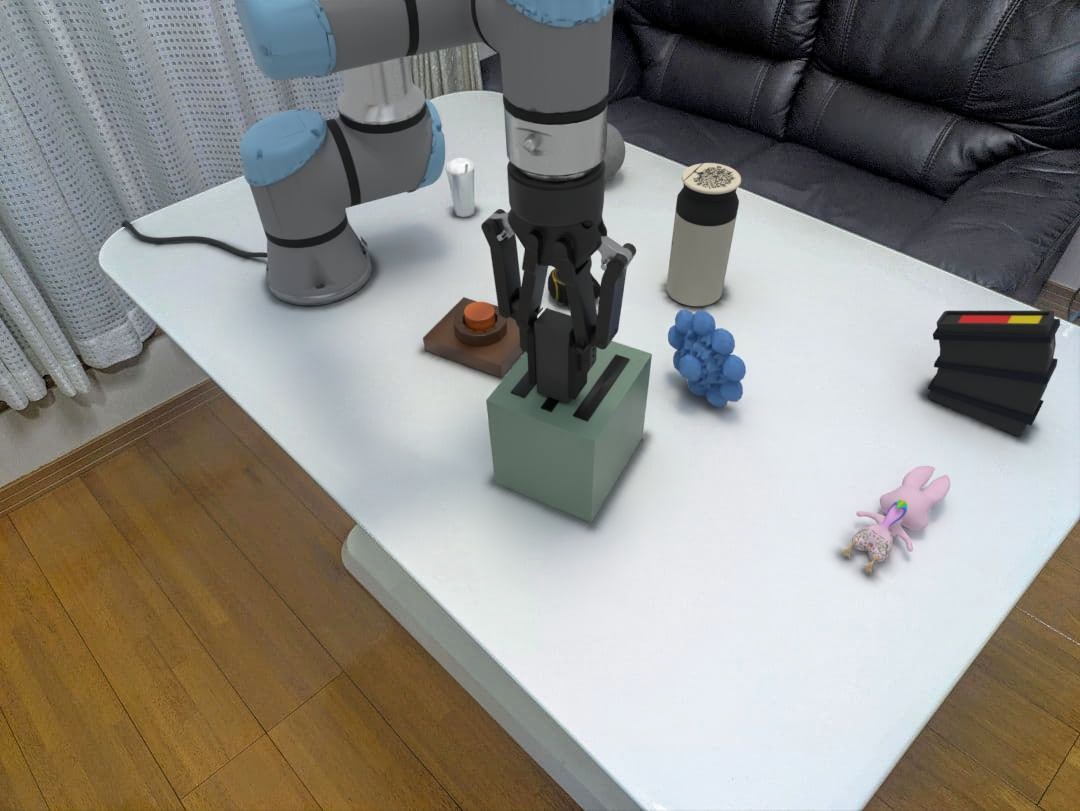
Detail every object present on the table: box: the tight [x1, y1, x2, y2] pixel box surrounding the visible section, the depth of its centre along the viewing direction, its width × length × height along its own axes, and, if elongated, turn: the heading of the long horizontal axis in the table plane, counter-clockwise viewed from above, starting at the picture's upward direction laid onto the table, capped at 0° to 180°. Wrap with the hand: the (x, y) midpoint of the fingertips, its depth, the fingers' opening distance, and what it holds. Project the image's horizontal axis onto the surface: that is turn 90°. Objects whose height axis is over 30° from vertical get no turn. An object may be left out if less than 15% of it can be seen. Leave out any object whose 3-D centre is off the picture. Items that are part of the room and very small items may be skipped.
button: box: [464, 301, 495, 330], centre depth 96 cm, size 4×4×2 cm
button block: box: [422, 296, 525, 379], centre depth 98 cm, size 12×10×4 cm
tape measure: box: [547, 268, 601, 306], centre depth 105 cm, size 7×7×4 cm
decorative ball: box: [603, 122, 626, 181], centre depth 126 cm, size 10×10×10 cm
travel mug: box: [665, 162, 742, 307], centre depth 100 cm, size 8×8×18 cm
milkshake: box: [445, 157, 476, 218], centre depth 119 cm, size 4×5×10 cm
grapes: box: [667, 309, 747, 408], centre depth 87 cm, size 12×7×12 cm, turn 39°
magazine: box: [926, 310, 1061, 437], centre depth 84 cm, size 4×13×15 cm, turn 50°
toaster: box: [485, 340, 653, 523], centre depth 80 cm, size 12×14×13 cm
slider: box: [534, 307, 575, 404], centre depth 70 cm, size 4×2×9 cm, turn 61°
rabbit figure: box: [841, 465, 951, 575], centre depth 75 cm, size 6×6×15 cm
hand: (557, 382), depth 72 cm, fingers closed on slider, 4 cm apart
